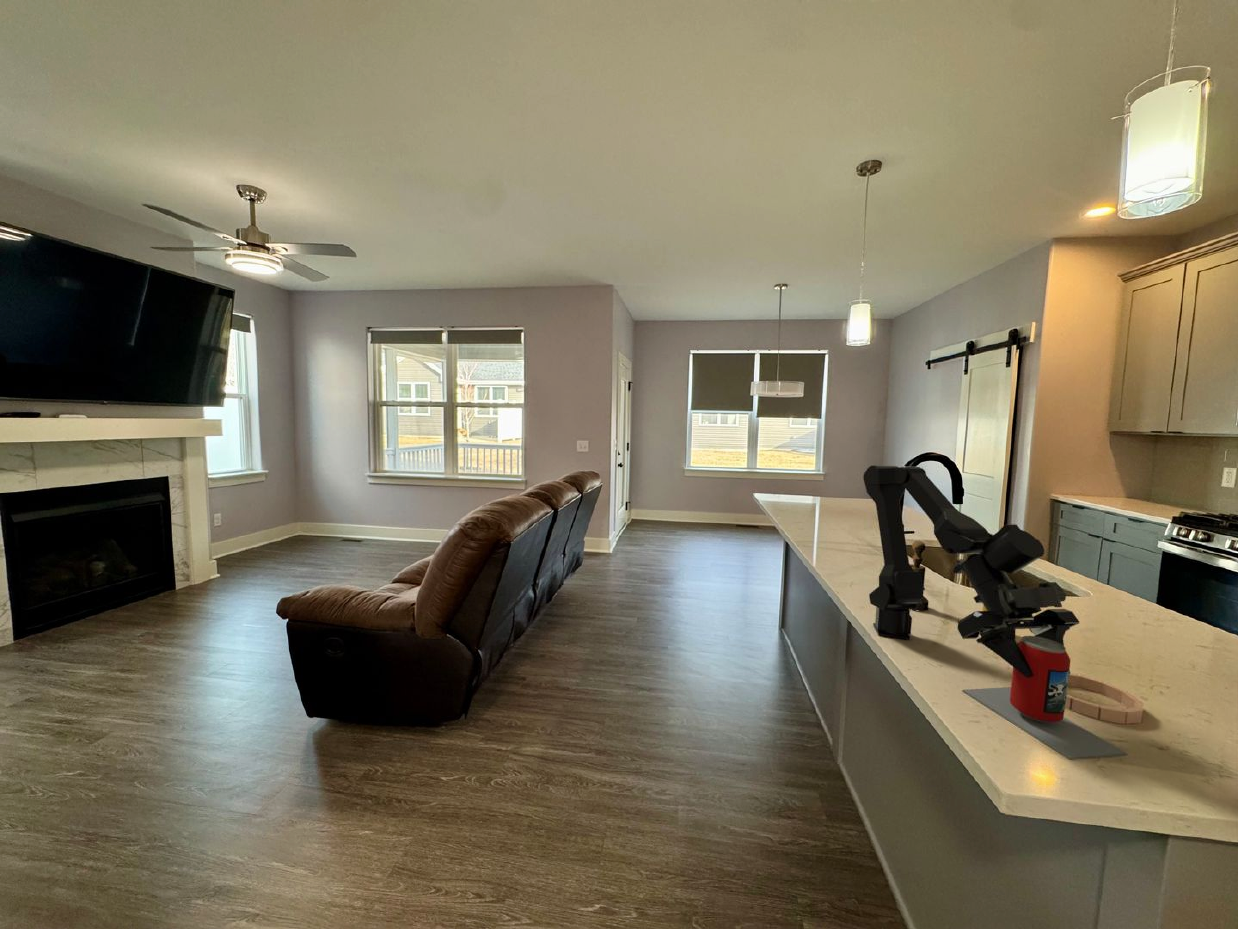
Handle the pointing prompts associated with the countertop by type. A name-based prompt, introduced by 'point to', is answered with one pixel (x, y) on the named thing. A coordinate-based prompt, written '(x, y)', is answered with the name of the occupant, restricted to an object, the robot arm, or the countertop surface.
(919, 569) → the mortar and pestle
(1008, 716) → the mat
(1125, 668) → the countertop surface
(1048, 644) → the beverage can
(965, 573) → the robot arm
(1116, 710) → the segmented polygon ring
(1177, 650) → the countertop surface
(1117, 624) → the countertop surface
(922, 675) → the countertop surface
